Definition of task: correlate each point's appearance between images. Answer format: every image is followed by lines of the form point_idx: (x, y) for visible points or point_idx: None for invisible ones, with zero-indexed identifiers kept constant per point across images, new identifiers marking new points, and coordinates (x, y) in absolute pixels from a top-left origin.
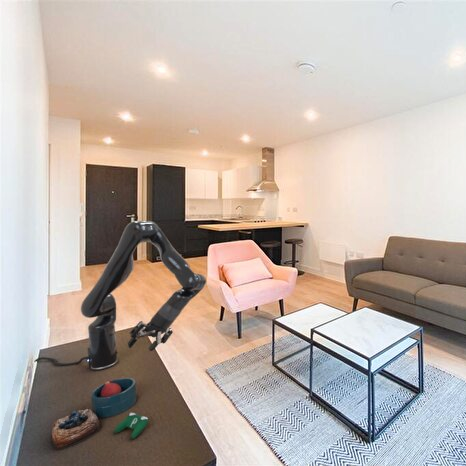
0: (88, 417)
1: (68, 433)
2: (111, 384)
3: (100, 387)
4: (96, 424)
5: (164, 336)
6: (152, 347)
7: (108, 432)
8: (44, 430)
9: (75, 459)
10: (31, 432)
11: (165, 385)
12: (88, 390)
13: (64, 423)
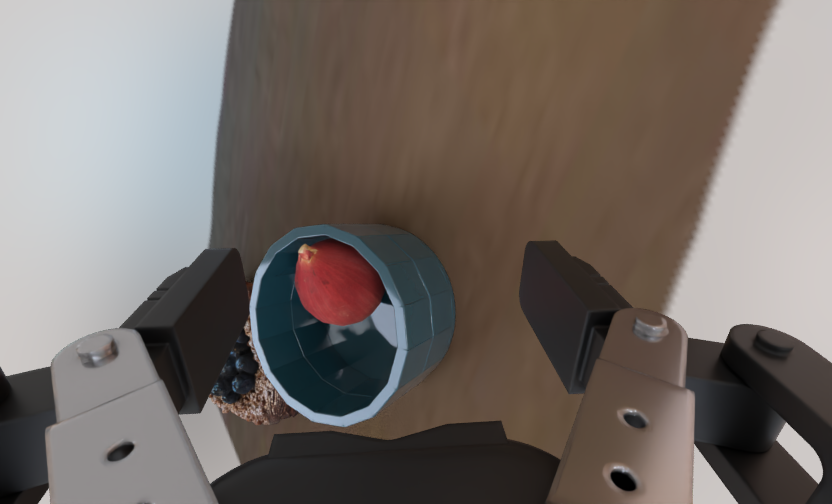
0: (255, 384)
1: (215, 402)
2: (312, 292)
3: (292, 244)
4: (282, 415)
5: (827, 438)
6: (538, 328)
7: None
8: (230, 234)
9: None
10: (212, 210)
11: None
12: (359, 41)
13: None
